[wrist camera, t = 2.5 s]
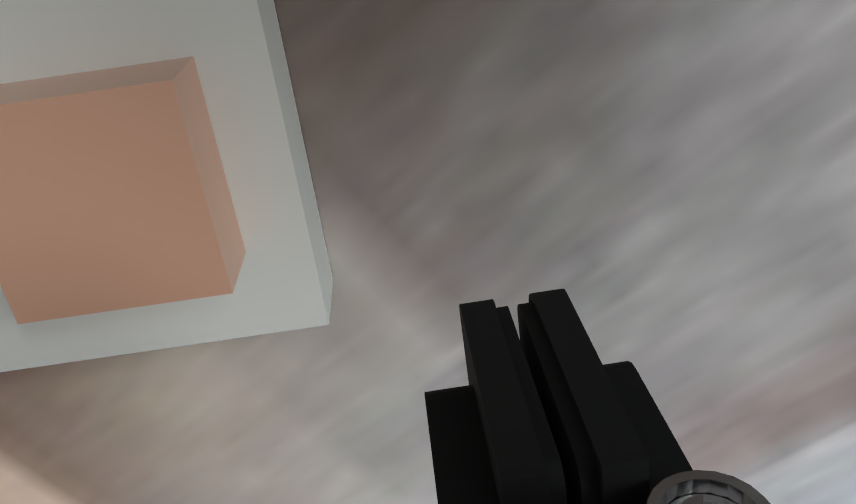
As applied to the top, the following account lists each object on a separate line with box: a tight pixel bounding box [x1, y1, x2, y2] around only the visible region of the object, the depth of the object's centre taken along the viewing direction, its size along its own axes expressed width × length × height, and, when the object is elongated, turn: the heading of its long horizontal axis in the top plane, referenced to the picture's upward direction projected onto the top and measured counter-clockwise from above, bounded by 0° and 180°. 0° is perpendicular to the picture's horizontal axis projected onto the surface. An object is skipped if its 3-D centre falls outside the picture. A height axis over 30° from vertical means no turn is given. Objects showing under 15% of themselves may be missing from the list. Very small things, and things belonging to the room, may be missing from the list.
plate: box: [0, 0, 333, 372], centre depth 23 cm, size 12×12×3 cm
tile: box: [0, 56, 246, 324], centre depth 21 cm, size 6×6×2 cm
